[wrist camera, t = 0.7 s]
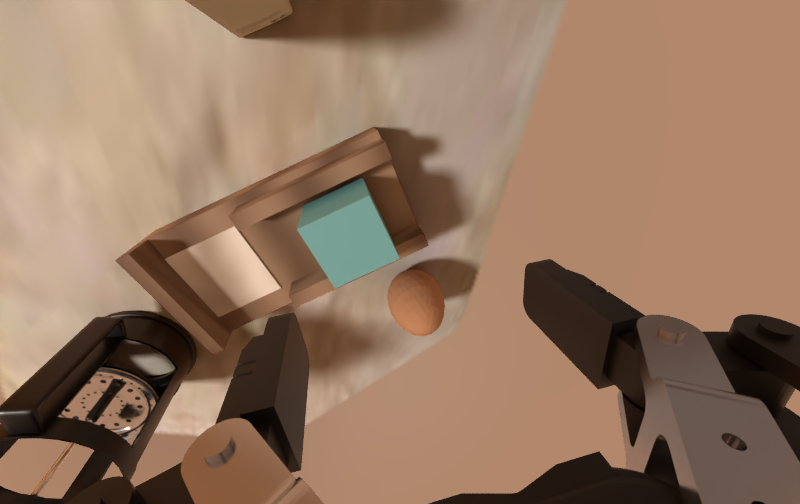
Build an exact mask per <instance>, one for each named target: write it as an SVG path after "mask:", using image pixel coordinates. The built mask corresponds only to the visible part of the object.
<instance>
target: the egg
mask: <svg viewBox="0 0 800 504" xmlns="http://www.w3.org/2000/svg"><path fill="white" fill-rule="evenodd" d="M388 304H389V308H390V311H391V314H392V316H393V317H394V319H395V321H396V322H397V323H398V324H399V325H400V326H401V327H402V328H403V329H404V330H406V331H407V332H409V333H411V334H413V335H417V336H426V335H429V334H432V333H433V332H434V331H436V330H437V329H438V327H439V326H440V324H441V322H442V319H443V316H444V308H445V304H444V297H443V294H442V291H441V289H440V287H439V285H438V284H437V282H436V281H435V280H434V279H433V278H432V277H431V276H430V275H428V274H427V273H425V272H423V271H420V270H411V269H410V270H406V271H403V272H401V273H400V274H398V275H397V276H396V277H395V278H394V279H393V280H392V282H391V285H390V287H389V291H388Z"/></svg>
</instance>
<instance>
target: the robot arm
mask: <svg viewBox="0 0 800 504" xmlns="http://www.w3.org/2000/svg"><path fill="white" fill-rule="evenodd" d="M523 304H524V308H525V311H526V313H527V315H528V317H529V318H530V319H531V320H532V321H533V322H534V323H535V324H536V325H537V326H538V327H539V328H540V329H541V330H542V331H543V332H544V333H545V335H546V336H547V337H548V338H549V339H550V340H551V341H552V342H553V343H554V344H555V345H556V346H557V347H558V348H559V349H560V350H561V351H562V352H563V353H564V354H565V355H566V356H567V357H568V358H569V359H570V360H571V361H572V362H573V364H575V366H576V367H577V368H578V369H579V370H580V371H581V372H582V373H583V374H584V375H585V376H586V377H587V378H588V379H589V380H590V381H591V382H592V383H593V384H594V385H595V386H596V388H597V389H601V388H605V387H608V386H612V385H616V386H617V387H618V388H619V394H618V404H619V411H620V417H621V425H622V432H623V438H624V445H625V452H626V469H623V468H614V467H611V466H610V465H609V463H608V462H607V461H606V459H605V458H604V457H603V456H602V455H601V453H600V452H596V453H592V454H589V455H586V456H583V457H579V458H576V459H573V460H570V461H567V462H564V463H560V464H557V465H555V466H554V467H552V468H551V469H550V470H548V471H547V472H546V473H544V474H543V475H542V476H540V477H539V478H538V479H536V480H535V481H534V482H532V483H531V484H529V485H528V486H527V487H526V488H524V489H523V490H521V491H520V492H518V493H513V494H459V495H455V496H452V497H449V498H446V499H442V500H439V501H436V502H432V503H429V504H800V417H799V416H798V415H796V414H795V413H794V412H792V411H791V410H789V409H788V408H786V407H785V405H786V404H787V402H788V400H789V399H790V397H791V395H792V394H793V392H794V390H795V389H797V390H799V391H800V327H799V326H796V325H794V324H792V323H789V322H787V321H783V320H780V319H777V318H773V317H768V316H763V315H753V314H750V315H741V316H738V317H736V318H735V319H734V321H733V323H732V326H731V328H730V330H729V332H701V331H700V330H699V329H698V328H696V327H695V326H693V325H691V324H689V323H687V322H685V321H683V320H680V319H677V318H673V317H670V316H664V315H647V316H645V315H643V314H642V313H640V312H639V311H637V310H636V309H634V308H633V307H631V306H630V305H628V304H627V303H625V302H623V301H622V300H620V299H619V298H617V297H616V296H614V295H613V294H611V293H610V292H606V290H605V289H604V288H602V287H600V286H598V285H596V283H594V282H593V281H591V280H590V279H588V278H587V277H585V276H584V275H581V274H578V273H575V272H572V271H570V270H566V269H565V268H563V267H562V266H560V265H559V264H557V263H556V262H554V261H553V260H550V259H548V260H543V261H538V262H534V263H529V264H527V266H526V268H525V280H524V295H523ZM237 365H238V367H236V369H235V372H234V374H233V379H232V380H231V383H230V385H229V388H228V391H227V394H226V396H225V399H224V402H223V405H222V407H221V410H220V413H219V416H218V418H217V421H216V424H215V425H213V426H212V427H210V428H209V429H207V430H206V431H205V432H203V433H202V434H201V435H200V436H199V437H198V438H197V439H196V440H195V441H194V442H193V443H192V444H191V446H190V447H189V448H188V450H187V452H186V453H185V455H184V458H183V460H182V462H181V463H179V464H178V465H176V466H174V467H172V468H170V469H169V470H167V471H165V472H163V473H161V474H159V475H157V476H155V477H153V478H151V479H149V480H148V481H146V482H144V483H142V484H140V485H138V486H136V487H134V486H133V484H132V483H131V482H130V481H129V480H128V479H127V478H125V477H120V476H118V477H111V478H107V479H104V480H101V481H99V482H97V483H95V484H93V485H91V486H89V487H87V488H86V489H84V490H83V491H81V492H80V493H78V494H77V495H75V496H74V497H73V498H72V499H70V500H69V501H68V502H67V503H66V504H324V503H323V502H322V501H321V500H320V498H319V497H318V496H317V495H316V494H315V492H314V491H313V490H312V489H311V488H310V487H309V485H308V484H307V483H306V482H305V481H304V480H303V479H302V478H300V477H299V478H298V479H296V478H295V477H294V476H293V475H292V474H291V473H292V472H296V471H299V470H301V463H302V451H303V438H304V426H305V414H306V401H307V389H308V376H309V358H308V352H307V349H306V345H305V342H304V339H303V336H302V333H301V330H300V327H299V323H298V320H297V317H296V315H295V313H288V314H283V315H279V316H274V317H270V318H269V319H268V321H267V324H266V328H265V331H264V335H261V336H257V337H253V338H252V340H251V341H250V342H249V343H248V344H247V345H246V347H245V348H244V349H243V350H242V353H241V355H240V358H239V361H238V364H237Z"/></svg>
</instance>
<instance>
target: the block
mask: <svg viewBox="0 0 800 504" xmlns="http://www.w3.org/2000/svg"><path fill="white" fill-rule="evenodd" d="M297 230H298V232H299V233H300V235H301V237H302V238H303V240H304V241H305V243H306V244H307V246H308V247H309V249H310V251H311V252H312V254H313V255H314V257H315V258H316V260H317V261H318V263H319V265H320V266H321V268H322V269H323V271H324V272H325V274H326V275H327V277H328V279H329V280H330V282H331V283H332V285H333V286H334V288H337V287H340V286H342V285H344V284H346V283H348V282H350V281H353V280H355V279H357V278H359V277H361V276H363V275H365V274H368V273H370V272H372V271H374V270H376V269H378V268H380V267H383V266H385V265H387V264H389V263H391V262H393V261H395V260H398V259H400V258H399V255H398V253H397V251H396V248H395V246H394V243H393V241H392V239H391V236H390V234H389V231H388V229H387V227H386V225H385V223H384V221H383V219H382V217H381V215H380V213H379V210H378V208H377V206H376V204H375V202H374V200H373V198H372V196H371V194H370V192H369V190H368V188H367V185H366V183H365V181H364V179H363V177H362V178H360V179H358V180H356V181H354V182H352V183H349V184H347V185H345V186H343V187H341V188H339V189H337V190H335V191H332V192H330V193H328V194H326V195H324V196H322V197H320V198H318V199H315V200H313V201H311V202H309V203H307V204H305V205H303V209H302V212H301V216H300V220H299V223H298V227H297Z"/></svg>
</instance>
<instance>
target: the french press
mask: <svg viewBox="0 0 800 504" xmlns="http://www.w3.org/2000/svg"><path fill="white" fill-rule="evenodd" d="M125 339H126V340H131V341H136V342H139V343H142V344H146V345H148V346H150V347H152V348H154V349H157V350H158V351H160V352H161V353H163V354H164V355H165V356H166V357H167V358H168V359H169V360H170V361H171V362H172V363H173V364H174V366H175V369H174V370H173V371H171V372H170V373H168V374H166V375H163V376H160V377H155V378H145V377H143V376H142V375H140V374H138V373H136V372H133V371H131V370H129V369H126V368H122V367H119V366H115V365H110V364H106V363H105V362H106V361H107V359H108V358H109V357H110V356H111V355H112V354H113V352H114V351H115V350H116V349H117V348H118V347H119V345H120V344H121V343H122V342H123V341H124V340H125ZM195 361H196V346H195V343H194V341H193V339H192V338H191V336H190V335H189V334H188V333H187V331H186V330H185V329H183V328H182V327H181V326H180V325H178V324H177V323H175V322H173V321H171V320H169V319H168V318H165V317H162V316H159V315H157V314H152V313H147V312H138V311H128V312H119V313H114V314H110V315H108V316H105V317H96V318H94V319H93V320H92V321H91V322H90V323H89V324H88V325H87V326H86V327H85V328H84V329H82V330H81V331H80V332H79V333H78V334H77V335H76V336H75V337H74V338H73V339H72V340H71V341H70V342H68V343H67V344H66V345H65V346H64V347H63V348H62V349H61V350H60V351H59V352H58V353H57V354H56V355H54V356H53V357H52V358H51V359H50V360H49V361H48V362H47V363H46V364H45V365H44V366H43V367H42V368H40V369H39V370H38V371H37V372H36V373H35V374H34V375H33V376H32V377H31V378H30V379H29V380H28V381H26V382H25V383H24V384H23V385H22V386H21V387H20V388H19V389H18V390H17V391H16V392H15V393H14V394H12V395H11V396H10V397H9V398H8V399H7V400H6V401H5V402H4V403H3V404H2V405H1V406H0V423H1V424H0V458H1V457H2V456H3V455H4V454H5V453H6V452H7V451H8V450H9V449H10V448H11V446H12V445H13V444H14V443H15V442H16V441H17V440H18V439H21V438H43V439H54V440H61V441H66V442H70V444H69V445H68V446H67V448H66V449H65V450H64V452H63V453H62V454H61V456H60V457H59V458H58V459H57V461H56V462H55V464H54V465H53V466H52V467H51V469H50V470H49V471H48V473H47V474H46V475H45V477H44V478H43V479H42V481H41V482H40V483H39V484H38V486H37V487H36V488H35V490H34V491H33V492H32V494H31V495H27V494H20V493H17V492H14V491H11V490H8V489H5V488H3V487H2V486H0V504H66V503H67V502H68V501H69V500H70V499H72V498H73V497H74V496H75V495H77V494H78V493H80V492H81V491H83V490H84V489H86V488H87V487H89V486H91V485H93V484H95V483H97V482H99V481H101V479H102V478H103V476H104V475H105V473H106V471H107V470H108V468H109V466H110V465H111V463H112V461H113V462H114V463H115V464H116V465H117V466H118V467H119V469H120V471H121V473H122V474H123V477H125V478H127V479H128V480H129V481H130V479H131V478H132V476H133V474H134V472H135V470H136V466H137V463H138V461H139V459H140V457H141V455H142V454H143V452H144V450H145V448H146V446H147V444H148V442H149V440H150V438H151V437H152V435H153V433H154V431H155V429H156V427H157V426H158V424H159V422H160V420H161V418H162V416H163V414H164V412H165V411H166V409H167V407H168V405H169V403H170V401H171V399H172V397H173V396H174V395H175V394H176V392H177V391H178V389H179V387H180V385H181V383H182V382H183V380H184V378H185V376H186V375H187V374H188V373H189V372H190V370H191V369H192V367H193V366H194V364H195ZM135 436H137V437H136V439H135V440H134V442H133V444H132V445H130V444H129V443H128V442H127V441H126V439H128V438H132V437H135ZM76 444H79V445H82V446H86V447H89V448H91V449H93V450H94V452H93V453H92V455H91V457H90V458H89V459H88V461H87V462H86V464H85V465H84V467H83V468H82V470H81V471H80V473H79V474H78V476H77V477H76V479H75V480H74V482H73V483H72V485H71V486H70V488H69V489H68V491H67V492H66V494H65V495H64V497H63V498H62V499H52V498H43V497H39V496H38V495H39V493H40V492H41V491H42V489H43V488H44V487H45V485H46V484H47V483H48V481H49V480H50V479H51V477H52V476H53V475H54V473H55V472H56V471H57V469H58V468H59V466H60V465H61V464H62V462H63V461H64V460H65V458H66V457H67V455H68V454H69V453H70V452H71V450H72V449H73V447H74V446H75V445H76Z"/></svg>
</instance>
